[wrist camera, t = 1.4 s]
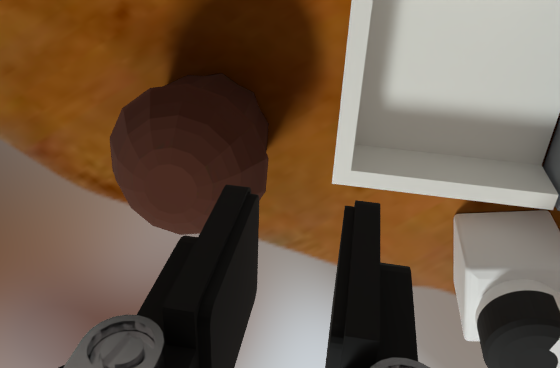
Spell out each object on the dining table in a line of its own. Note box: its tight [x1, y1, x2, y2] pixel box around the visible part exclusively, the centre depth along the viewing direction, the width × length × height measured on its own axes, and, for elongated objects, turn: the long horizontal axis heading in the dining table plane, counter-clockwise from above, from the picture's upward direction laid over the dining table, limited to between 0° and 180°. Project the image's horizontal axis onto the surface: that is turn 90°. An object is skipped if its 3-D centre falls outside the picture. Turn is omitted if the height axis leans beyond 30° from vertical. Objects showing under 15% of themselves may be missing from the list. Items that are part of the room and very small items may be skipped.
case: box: [332, 0, 560, 210], centre depth 33 cm, size 18×15×5 cm
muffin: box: [110, 73, 269, 235], centre depth 37 cm, size 12×11×10 cm
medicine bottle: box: [454, 210, 560, 368], centre depth 37 cm, size 7×7×12 cm
